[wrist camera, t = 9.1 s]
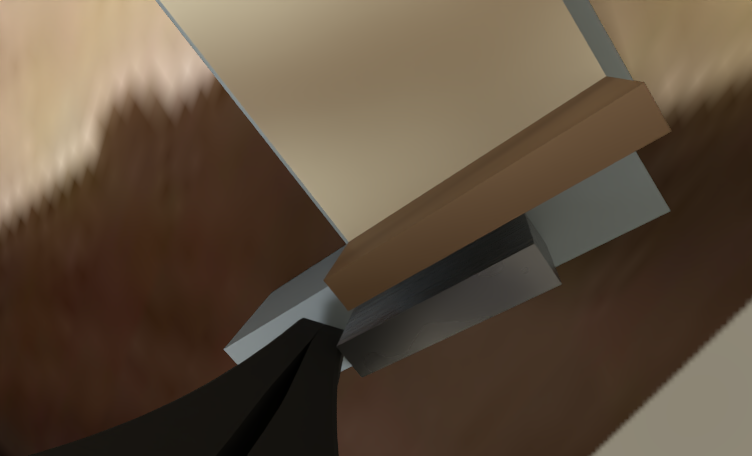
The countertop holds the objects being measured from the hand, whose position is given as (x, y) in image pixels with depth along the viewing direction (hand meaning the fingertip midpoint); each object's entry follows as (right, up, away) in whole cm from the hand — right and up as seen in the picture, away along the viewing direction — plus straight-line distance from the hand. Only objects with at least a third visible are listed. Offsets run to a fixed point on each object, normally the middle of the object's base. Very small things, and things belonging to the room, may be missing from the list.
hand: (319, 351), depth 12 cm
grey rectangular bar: (+3, +2, -1) cm, 4 cm away
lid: (+2, +7, -3) cm, 8 cm away
